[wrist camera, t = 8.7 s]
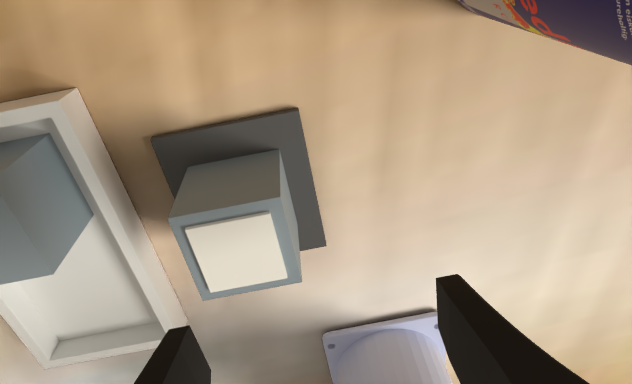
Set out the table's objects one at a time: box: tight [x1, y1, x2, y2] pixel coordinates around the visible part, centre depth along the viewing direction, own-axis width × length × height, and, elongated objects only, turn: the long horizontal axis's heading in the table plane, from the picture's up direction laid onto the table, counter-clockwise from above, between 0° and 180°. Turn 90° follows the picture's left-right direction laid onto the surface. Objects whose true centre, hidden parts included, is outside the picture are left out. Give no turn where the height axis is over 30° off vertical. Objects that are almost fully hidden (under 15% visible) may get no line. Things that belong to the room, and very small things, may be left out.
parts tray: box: [0, 88, 188, 369], centre depth 21 cm, size 15×8×2 cm, turn 10°
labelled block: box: [167, 149, 302, 301], centre depth 19 cm, size 4×4×5 cm
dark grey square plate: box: [150, 108, 326, 251], centre depth 22 cm, size 8×7×1 cm
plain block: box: [0, 133, 94, 285], centre depth 18 cm, size 4×4×4 cm
